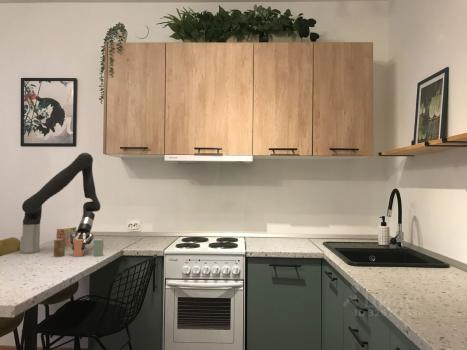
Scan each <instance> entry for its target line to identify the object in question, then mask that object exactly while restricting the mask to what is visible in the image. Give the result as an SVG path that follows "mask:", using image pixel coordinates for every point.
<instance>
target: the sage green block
mask: <svg viewBox="0 0 467 350" xmlns="http://www.w3.org/2000/svg"><path fill="white" fill-rule="evenodd" d="M92 249H93V251H92V253H93V254H92V256H93V257H102V256H104V238H95V239H93V248H92Z"/></svg>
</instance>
